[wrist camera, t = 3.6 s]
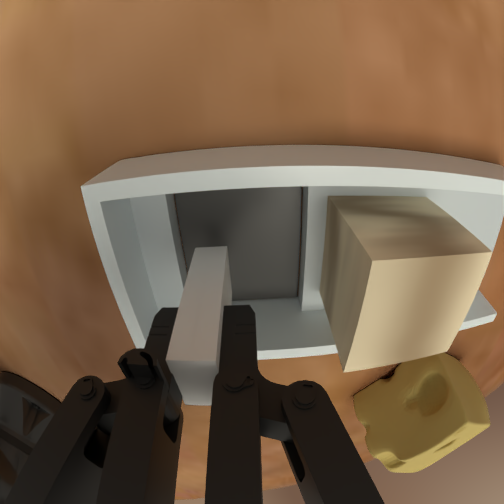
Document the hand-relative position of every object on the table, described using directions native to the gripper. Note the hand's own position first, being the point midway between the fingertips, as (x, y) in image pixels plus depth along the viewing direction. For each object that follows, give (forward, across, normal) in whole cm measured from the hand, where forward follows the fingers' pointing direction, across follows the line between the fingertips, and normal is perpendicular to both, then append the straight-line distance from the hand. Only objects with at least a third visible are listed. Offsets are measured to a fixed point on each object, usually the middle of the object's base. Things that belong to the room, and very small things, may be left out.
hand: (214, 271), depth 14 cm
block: (+2, +9, 0) cm, 9 cm away
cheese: (+4, +19, -18) cm, 26 cm away
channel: (+3, +8, 0) cm, 8 cm away
